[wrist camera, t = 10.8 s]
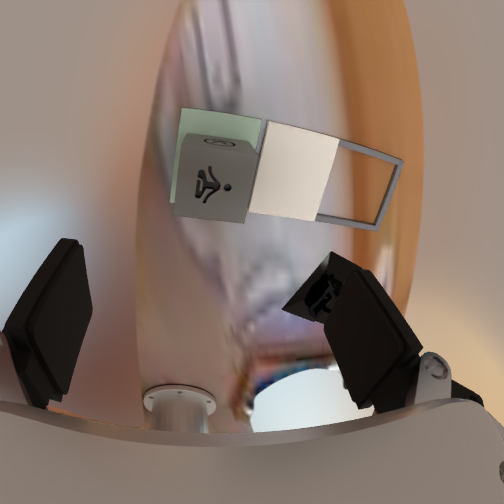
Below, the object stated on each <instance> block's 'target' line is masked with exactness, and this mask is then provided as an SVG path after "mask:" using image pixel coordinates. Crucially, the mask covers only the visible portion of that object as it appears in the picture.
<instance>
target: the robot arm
mask: <svg viewBox="0 0 504 504" xmlns="http://www.w3.org/2000/svg"><path fill="white" fill-rule="evenodd" d="M91 316H92V302H91V296H90V291H89V285H88V279H87V273H86V265H85V258H84V249H83V246H82V245H80V244H79V242H78V241H77V240H75V239H67V238H61V239H60V240H59V242H58V243H57V244H56V246H55V247H54V248H53V250H52V251H51V252H50V254H49V255H48V257H47V258H46V259H45V261H44V262H43V264H42V265H41V266H40V268H39V269H38V271H37V272H36V274H35V275H34V277H33V278H32V280H31V281H30V283H29V284H28V286H27V288H26V289H25V291H24V292H23V294H22V295H21V297H20V299H19V300H18V302H17V304H16V305H15V307H14V309H13V311H12V312H11V314H10V316H9V318H8V320H7V321H6V323H5V326H4V329H3V330H2V332H1V331H0V504H504V427H503V426H502V425H501V424H500V423H499V422H498V421H497V420H496V419H495V418H494V417H493V416H492V415H491V414H490V413H489V412H487V411H486V410H485V408H484V405H483V400H482V398H481V397H480V396H479V395H478V394H476V393H475V392H473V391H471V390H469V389H467V388H466V387H464V386H462V385H460V384H459V383H457V382H455V381H453V380H452V379H451V369H450V367H449V365H448V363H447V362H446V360H444V359H443V358H442V357H441V356H439V355H438V354H436V353H433V352H426V353H424V354H423V355H422V356H421V357H420V356H419V352H420V351H421V350H422V349H423V346H422V345H421V343H420V342H419V340H418V338H417V337H416V335H415V334H414V333H413V331H412V329H411V328H410V326H409V325H408V323H407V322H406V320H405V319H404V317H403V316H402V314H401V313H400V311H399V310H398V308H397V307H396V306H395V304H394V303H393V301H392V300H391V298H390V297H389V296H388V294H387V293H386V291H385V290H384V289H383V287H382V286H381V284H380V283H379V282H378V280H377V279H376V278H375V276H374V275H373V274H372V272H371V271H370V270H365V269H354V270H353V272H351V273H349V275H348V277H347V279H346V281H345V283H344V285H343V287H342V289H341V292H340V294H339V296H338V298H337V300H336V302H335V304H334V306H333V308H332V310H331V312H330V314H329V316H328V318H327V320H326V322H325V324H324V333H325V335H326V337H327V340H328V342H329V345H330V347H331V349H332V352H333V354H334V357H335V359H336V361H337V364H338V366H339V369H340V371H341V374H342V376H343V379H344V381H345V384H346V386H347V389H348V391H349V394H350V396H351V399H352V401H353V402H355V403H356V404H357V407H358V409H364V408H369V407H371V406H372V405H373V406H374V408H375V409H374V412H373V415H372V416H369V417H364V418H360V419H355V420H350V421H345V422H340V423H334V424H329V425H322V426H315V427H308V428H301V429H293V430H282V431H271V432H256V433H209V427H208V416H209V415H211V414H212V413H213V412H214V411H215V410H216V400H215V398H214V397H213V396H212V395H211V394H209V393H207V392H206V391H203V390H201V389H198V388H194V387H190V386H183V385H164V386H159V387H155V388H152V389H150V390H149V391H147V392H146V393H145V395H144V400H143V402H144V405H145V407H146V408H147V409H148V410H149V411H150V412H152V419H151V430H148V429H139V428H132V427H125V426H119V425H113V424H107V423H101V422H96V421H91V420H86V419H81V418H77V417H72V416H68V415H64V414H60V413H56V412H52V411H49V410H48V408H47V405H48V403H49V399H51V400H55V401H58V402H61V401H62V396H63V394H65V395H66V394H67V393H68V390H69V386H70V383H71V379H72V375H73V372H74V368H75V365H76V361H77V358H78V355H79V352H80V348H81V345H82V342H83V339H84V336H85V333H86V330H87V327H88V324H89V322H90V319H91Z"/></svg>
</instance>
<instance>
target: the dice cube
mask: <svg viewBox="0 0 504 504" xmlns="http://www.w3.org/2000/svg"><path fill="white" fill-rule="evenodd" d="M258 158H259V155H258V153H257V152H256V151H255V149H254V148H253V146H252V145H251V144H250V142H249V141H243V140H237V139H230V138H224V137H217V136H209V135H201V134H193V133H187V135H186V136H185V138H184V140H183V142H182V144H181V150H180V157H179V165H178V173H177V182H176V191H175V201H174V212H173V216H181V217H190V218H199V219H208V220H217V221H226V222H234V223H243V224H244V221H245V217H246V212H247V207H248V203H249V198H250V194H251V189H252V185H253V180H254V175H255V171H256V167H257V162H258Z"/></svg>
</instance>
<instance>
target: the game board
mask: <svg viewBox="0 0 504 504" xmlns="http://www.w3.org/2000/svg"><path fill="white" fill-rule="evenodd" d="M261 123H262V120H261V119H257V118H252V117H246V116H241V115H235V114H229V113H222V112H216V111H208V110H201V109H192V108H182V111H181V117H180V123H179V130H178V137H177V144H176V151H175V158H174V167H173V175H172V184H171V194H170V203H174V201H175V191H176V182H177V173H178V165H179V157H180V150H181V144H182V142H183V140H184V138H185V136H186V135H187V133H193V134H201V135H209V136H217V137H224V138H230V139H237V140H243V141H249V142H250V144H251V145H252V146H253V148H254V149H256V145H257V141H258V136H259V132H260V127H261ZM338 146H342V147H345V148H348V149H352V150H355V151H358V152H361V153H364V154H367V155H370V156H373V157H376V158H379V159H382V160H385V161H388V162H391V163H393V164H396V166H395V169H394V172H393V174H392V177H391V180H390V183H389V186H388V188H387V191H386V194H385V197H384V199H383V202H382V204H381V207H380V210H379V212H378V215H377V217H376V220H375V222H374V224H370V223H365V222H360V221H355V220H349V219H344V218H338V217H333V216H327V215H321V214H317V211H318V208H319V205H320V202H321V199H322V196H323V193H324V190H325V187H326V183H327V180H328V177H329V174H330V170H331V167H332V164H333V160H334V157H335V154H336V150H337V147H338ZM403 164H404V161H402V160H400V159H397V158H395V157H392V156H389V155H387V154H384V153H381V152H378V151H375V150H373V149H370V148H367V147H364V146H361V145H358V144H355V143H351V142H348V141H345V140H342V139H338V138H335V137H332V136H328V135H325V134H321V133H317V132H314V131H310V130H306V129H302V128H298V127H294V126H290V125H285V124H281V123H276V122H272V121H268V123H267V127H266V131H265V136H264V140H263V144H262V149H261V153H260V157H259V162H258V166H257V170H256V175H255V179H254V184H253V188H252V193H251V197H250V202H249V206H248V212H253V213H260V214H267V215H274V216H281V217H288V218H295V219H301V220H308V221H319V222H325V223H331V224H337V225H343V226H349V227H355V228H360V229H366V230H372V231H377V232H378V229H379V227H380V225H381V222H382V220H383V217H384V215H385V212H386V210H387V207H388V205H389V202H390V200H391V197H392V194H393V192H394V189H395V186H396V184H397V181H398V178H399V175H400V172H401V169H402V167H403Z"/></svg>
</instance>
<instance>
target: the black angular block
mask: <svg viewBox="0 0 504 504" xmlns="http://www.w3.org/2000/svg"><path fill="white" fill-rule="evenodd" d="M354 269H362V268H361V267H359V266H358V265H356V264H354V263H352V262H350V261H349V260H347V259H345V258H343V257H341V256H340V255H338V254H336V253H334V252H332V251H331V252H330V253H329V254H328V255H327V256H326V258H325V259H324V260H323V261H322V262H321V264H320V265H319V266H318V267H317V268H316V270H315V271H314V272H313V273H312V274H311V276H310V277H309V278H308V279H307V280H306V281H305V283H304V284H303V285H302V286H301V287H300V288H299V290H298V291H297V292H296V293H295V294H294V295H293V297H292V298H291V299H290V300H289V301H288V302H287V303H286V305H285V306H284V307H283V308H282V310H283V311H286V312H289V313H291V314H294V315H297V316H299V317H302V318H305V319H307V320H310V321H313V322H314V321H317V322H320V323H323V324H325V322H326V320H327V318H328V316H329V314H330V312H331V310H332V308H333V306H334V304H335V302H336V300H337V298H338V296H339V294H340V292H341V289H342V287H343V285H344V283H345V281H346V279H347V277H348V275H349V273H351V272H353V270H354Z"/></svg>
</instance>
